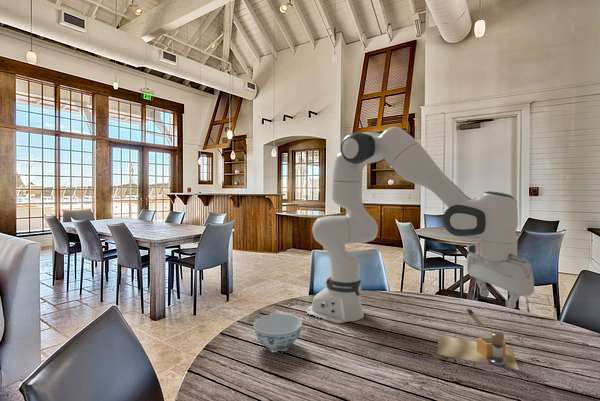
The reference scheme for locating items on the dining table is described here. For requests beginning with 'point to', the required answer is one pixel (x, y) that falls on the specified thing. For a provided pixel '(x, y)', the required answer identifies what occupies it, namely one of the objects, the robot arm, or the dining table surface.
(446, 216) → the robot arm
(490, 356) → the orange box
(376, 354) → the dining table surface
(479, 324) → the tactical tomahawk
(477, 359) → the panel
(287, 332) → the chinaware
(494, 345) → the brown goblet
